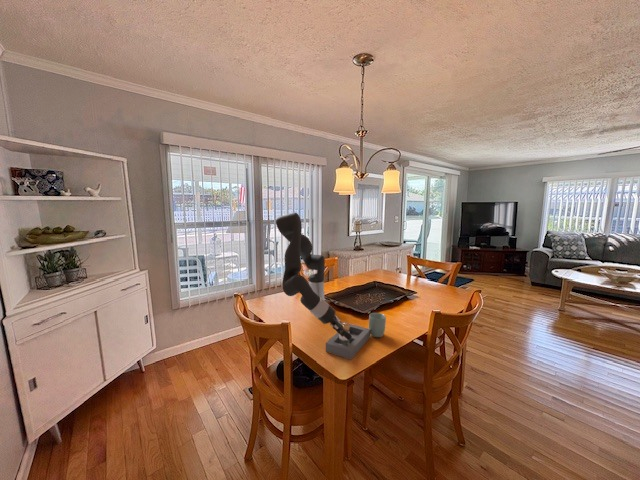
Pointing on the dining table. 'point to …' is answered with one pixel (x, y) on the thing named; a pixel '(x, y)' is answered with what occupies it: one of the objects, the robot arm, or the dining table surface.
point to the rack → (355, 343)
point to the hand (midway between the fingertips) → (347, 333)
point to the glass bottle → (342, 339)
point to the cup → (377, 324)
